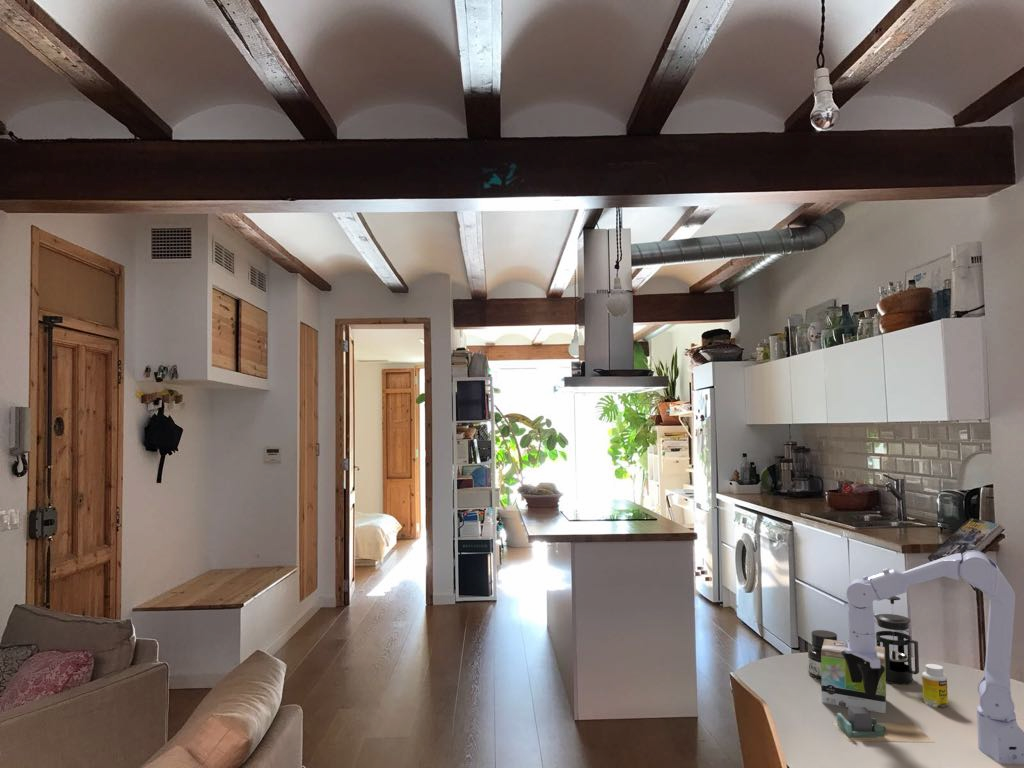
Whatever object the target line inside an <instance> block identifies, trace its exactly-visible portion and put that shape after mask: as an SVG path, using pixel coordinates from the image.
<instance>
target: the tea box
mask: <svg viewBox="0 0 1024 768" xmlns="http://www.w3.org/2000/svg"><path fill="white" fill-rule="evenodd" d="M844 648H846V641H843V640H842V641H841V640H837V641H836V640H829V639H824V642H823V646H822V649H821V679H820V681H821V683H820V684H821V703H822V704H828V705H832V706H833V705H834V706H838V707H847V708H848V707H865V708H866V709H867V710H868V711H870V712H875V713H876V712H877V713H882V714H886V710H887V709H886V708H887V707H886V706H887V701H886V700H887V685H886V684H887V682H886V667H885V647H883V646H880V647H879V646H877V645H875V650H876V652H877V656H878V658H879V659H880V665H882V666H884V667H885V671H884V672H883V674H882V676H881V677H880V680H879V683H878V687H877V691H876V695H866V693H865V690H864V684H863V678H862V682H861V683H853V682H852V680H851V677H850V673H849V669H848V666H847V663H846V660H845V658H844V656H843V655H842V651H844ZM864 664H866V661H865V662H864Z"/></svg>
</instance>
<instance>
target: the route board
mask: <svg viewBox="0 0 1024 768" xmlns="http://www.w3.org/2000/svg"><path fill="white" fill-rule="evenodd" d="M832 724H833V725H834V726H835V728H837V730H838V731H839V732H840V734H842V735H843V736H844V738H845V739H846V740H847V741H848V742H849V743H850V742H856V743H857V742H861V743H862V742H863V743H867V742H868V743H870V742H871V743H875V742H876V743H935V741H934V740H933V739H931V738H930V737H929V736H928V735H927V734H926V733H924V732H923V731H922V729H920V728H919V727H918V726H917V725H915V724H914V723H913V722H877V718H876V717H874V716H872V725H873V732H866V731H852V730H851V724H850V723H849V722H848V718H847V719H846V717H845V716H844V715H843V714H842V712H836V721H834V722H832ZM883 725H884V726H885V728H886V730H885V732H884V726H883Z"/></svg>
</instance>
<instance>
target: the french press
mask: <svg viewBox="0 0 1024 768" xmlns="http://www.w3.org/2000/svg"><path fill="white" fill-rule="evenodd" d="M885 600H889V601H890V604H891V613H880V614H876V615H874V619H875V620H876V622H877V625H878V627H880V628H883V629H886V630H879V631H877V632H876V631H875V641H876V646H879V647H881V643H882V647H885V667H886V683H889V682H890V683H889V684H894V685H909V684H910V685H911V684H912V683H913V682H914V677H913V675H917V674H919V673H920V664H919V663H920V661H919V642H918V640H913V639H912V637H911V635H909V634H907V633H904V632H900V631H906V630H909V629H910V623H911V622H912V621H911V619H910V618H909V617H906V616H903V615H899V614H894V604H895V601H900V600H901V598H900V597H898V596H897V595H896V596H893V597H890V598H886V599H885ZM882 636H883V637H882ZM884 636H887V637H889V636H890V637H891V636H892V639H889V638H884ZM895 637H897V639H895ZM905 639H906V640H905ZM912 644H914V645H913V646H914V670H913V666H912ZM890 645H892V650H890ZM895 646H897V651H896V650H895ZM905 646H907V653H906V652H905Z"/></svg>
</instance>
